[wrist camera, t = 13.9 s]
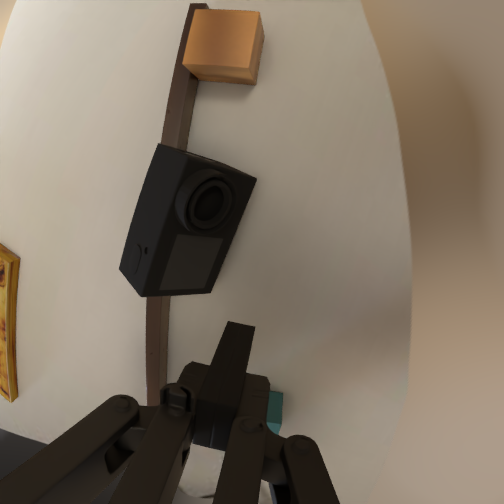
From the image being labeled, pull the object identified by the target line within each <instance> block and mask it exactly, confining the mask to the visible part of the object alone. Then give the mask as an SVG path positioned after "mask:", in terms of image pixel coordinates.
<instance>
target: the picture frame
mask: <svg viewBox="0 0 504 504" xmlns="http://www.w3.org/2000/svg"><path fill="white" fill-rule="evenodd" d="M19 265H20V258H19V257H18V256H16V255H15V254H14V253H12V252H11V251H10V250H8V249H7V248H6V247H4V246H3V245H2V244H0V394H1V395H2V396H3V397H4V398H6V399H7V400H8V401H9V402H10V403H12V402H13V401H14V400H15V399H16V398H17V397H18V389H17V375H16V350H15V326H16V300H17V285H18V274H19Z"/></svg>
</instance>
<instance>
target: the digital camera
mask: <svg viewBox="0 0 504 504" xmlns="http://www.w3.org/2000/svg"><path fill="white" fill-rule="evenodd" d="M256 181H257V179H256V178H255V177H252V176H250V175H248V174H246V173H244V172H241V171H239V170H237V169H235V168H233V167H230V166H228V165H226V164H223V163H221V162H218V161H215V160H212V159H209V158H206V157H203V156H199V155H196V154H193V153H190V152H187V151H184V150H181V149H178V148H174V147H171V146H168V145H164V144H160V143H158V145H157V148H156V150H155V153H154V156H153V158H152V161H151V164H150V166H149V169H148V172H147V175H146V178H145V181H144V184H143V187H142V190H141V193H140V196H139V199H138V202H137V205H136V208H135V212H134V215H133V218H132V222H131V225H130V229H129V232H128V236H127V239H126V243H125V247H124V251H123V255H122V259H121V263H120V267H119V270H120V271H121V272H122V274H123V275H124V276H125V278H126V279H127V280H128V281H129V283H130V284H131V285H132V287H133V288H134V289H135V290H136V292H137V293H138V294H139V295H140V296H141V297H159V296H176V295H191V294H206V293H211V291H212V289H213V286H214V284H215V281H216V279H217V276H218V274H219V272H220V269H221V267H222V264H223V262H224V259H225V257H226V254H227V252H228V249H229V247H230V244H231V242H232V239H233V237H234V235H235V232H236V230H237V227H238V225H239V222H240V220H241V217H242V215H243V213H244V210H245V208H246V205H247V203H248V200H249V198H250V195H251V193H252V191H253V188H254V186H255V183H256Z"/></svg>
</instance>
